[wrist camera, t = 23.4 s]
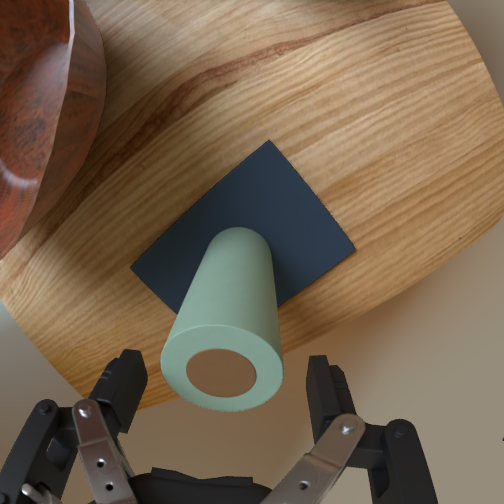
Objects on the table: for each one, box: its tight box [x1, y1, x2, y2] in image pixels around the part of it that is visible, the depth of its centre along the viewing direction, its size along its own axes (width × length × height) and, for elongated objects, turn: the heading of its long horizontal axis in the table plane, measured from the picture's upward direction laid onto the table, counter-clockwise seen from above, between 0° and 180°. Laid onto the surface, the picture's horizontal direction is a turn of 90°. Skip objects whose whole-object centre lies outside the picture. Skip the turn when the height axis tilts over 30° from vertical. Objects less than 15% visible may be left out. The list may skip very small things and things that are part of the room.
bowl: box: [0, 0, 107, 260], centre depth 15 cm, size 25×25×11 cm
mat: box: [130, 140, 356, 315], centre depth 26 cm, size 12×17×1 cm
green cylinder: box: [160, 227, 284, 412], centre depth 19 cm, size 14×6×14 cm
